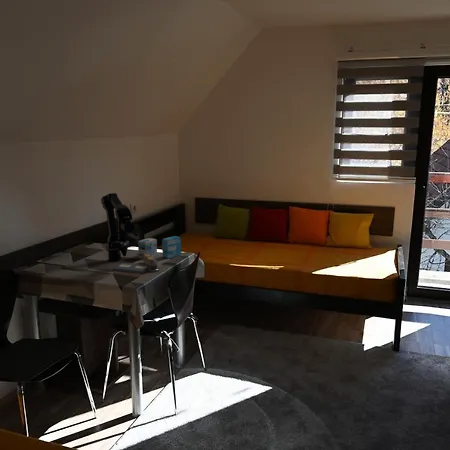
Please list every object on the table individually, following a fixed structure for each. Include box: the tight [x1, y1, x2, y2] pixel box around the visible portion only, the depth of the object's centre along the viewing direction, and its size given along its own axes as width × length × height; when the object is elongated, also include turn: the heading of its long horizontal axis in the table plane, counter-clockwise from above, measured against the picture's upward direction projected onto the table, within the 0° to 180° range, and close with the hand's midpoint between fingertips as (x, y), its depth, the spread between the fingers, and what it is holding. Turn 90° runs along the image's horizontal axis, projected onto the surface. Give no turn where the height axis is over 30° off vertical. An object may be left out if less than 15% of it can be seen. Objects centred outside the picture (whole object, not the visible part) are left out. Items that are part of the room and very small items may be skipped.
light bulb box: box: [137, 237, 158, 259], centre depth 299 cm, size 11×7×11 cm, turn 148°
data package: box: [161, 235, 182, 259], centre depth 300 cm, size 12×4×12 cm, turn 141°
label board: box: [112, 262, 151, 274], centre depth 275 cm, size 19×12×1 cm, turn 74°
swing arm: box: [141, 252, 158, 269], centre depth 278 cm, size 21×4×5 cm, turn 24°
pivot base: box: [148, 267, 160, 273], centre depth 271 cm, size 6×6×1 cm
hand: (124, 256), depth 275 cm, fingers closed
